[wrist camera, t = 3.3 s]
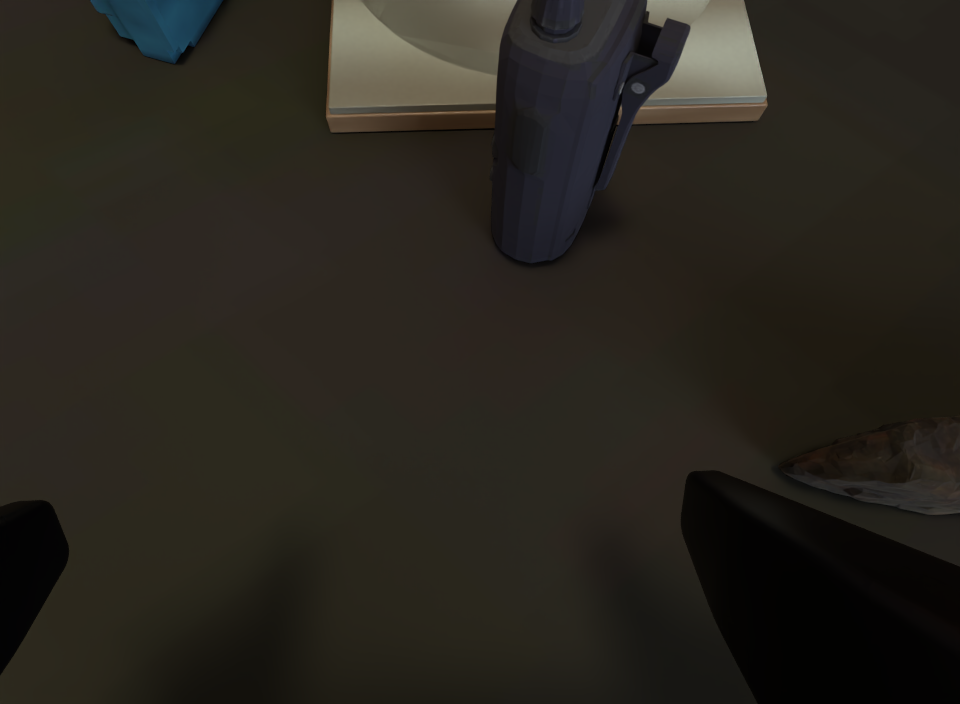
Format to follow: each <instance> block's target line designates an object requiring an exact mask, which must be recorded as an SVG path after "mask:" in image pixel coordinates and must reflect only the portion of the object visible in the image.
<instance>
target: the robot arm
mask: <svg viewBox="0 0 960 704" xmlns="http://www.w3.org/2000/svg"><path fill="white" fill-rule="evenodd" d="M681 529H682V534H683V537H684V540H685V543H686V545H687V548H688V551H689V553H690V556H691V559H692V561H693V564H694V567H695V569H696V572H697V575H698V577H699V580H700V583H701V585H702V588H703V591H704V594H705V596H706V599H707V602H708V604H709V607H710V609H711V612H712V614H713V617H714V619H715V621H716V623H717V625H718V627H719V630H720V632H721V634H722V636H723V638H724V640H725V641H726V643H727V645H728V647H729V649H730V651H731V653H732V655H733V657H734V659H735V661H736V663H737V665H738V667H739V668H740V670H741V672H742V674H743V676H744V678H745V680H746V682H747V684H748V686H749V688H750V690H751V692H752V693H753V695H754V697H755V699H756V701H757V703H758V704H960V567H959V566H957V565H954V564H951V563H949V562H946V561H944V560H941V559H939V558H936V557H934V556H931V555H929V554H926V553H924V552H921V551H919V550H916V549H914V548H911V547H909V546H906V545H904V544H901V543H899V542H896V541H894V540H891V539H889V538H886V537H883V536H881V535H878V534H876V533H873V532H871V531H868V530H866V529H863V528H861V527H858V526H856V525H853V524H851V523H848V522H846V521H843V520H841V519H838V518H836V517H833V516H831V515H828V514H826V513H823V512H821V511H818V510H815V509H813V508H810V507H808V506H805V505H803V504H800V503H798V502H795V501H793V500H790V499H788V498H785V497H783V496H780V495H778V494H775V493H773V492H770V491H768V490H765V489H763V488H760V487H758V486H755V485H753V484H750V483H747V482H745V481H742V480H740V479H737V478H735V477H732V476H730V475H727V474H725V473H722V472H720V471H715V470H710V471H693V472H691V473H690V474H689V475H688V477H687V479H686V484H685V491H684V498H683V505H682V512H681ZM68 556H69V546H68V543H67V540H66V537H65V535H64V532H63V530H62V528H61V525H60V523H59V520H58V518H57V515H56V513H55V510H54V508H53V506H52V505H51V504H50V503H49V502H47V501H44V500H35V501H18V502H13V503H10V504H7V505H4V506H1V507H0V675H1V673H2V672H3V670H4V669H5V667H6V666H7V665H8V663H9V662H10V660H11V659H12V657H13V656H14V654H15V652H16V651H17V649H18V647H19V646H20V644H21V643H22V641H23V639H24V637H25V636H26V634H27V632H28V631H29V629H30V627H31V625H32V624H33V622H34V620H35V618H36V617H37V615H38V613H39V611H40V610H41V608H42V606H43V605H44V603H45V601H46V599H47V598H48V596H49V594H50V592H51V591H52V589H53V587H54V585H55V584H56V582H57V580H58V579H59V577H60V575H61V573H62V572H63V570H64V568H65V566H66V564H67V561H68Z"/></svg>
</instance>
